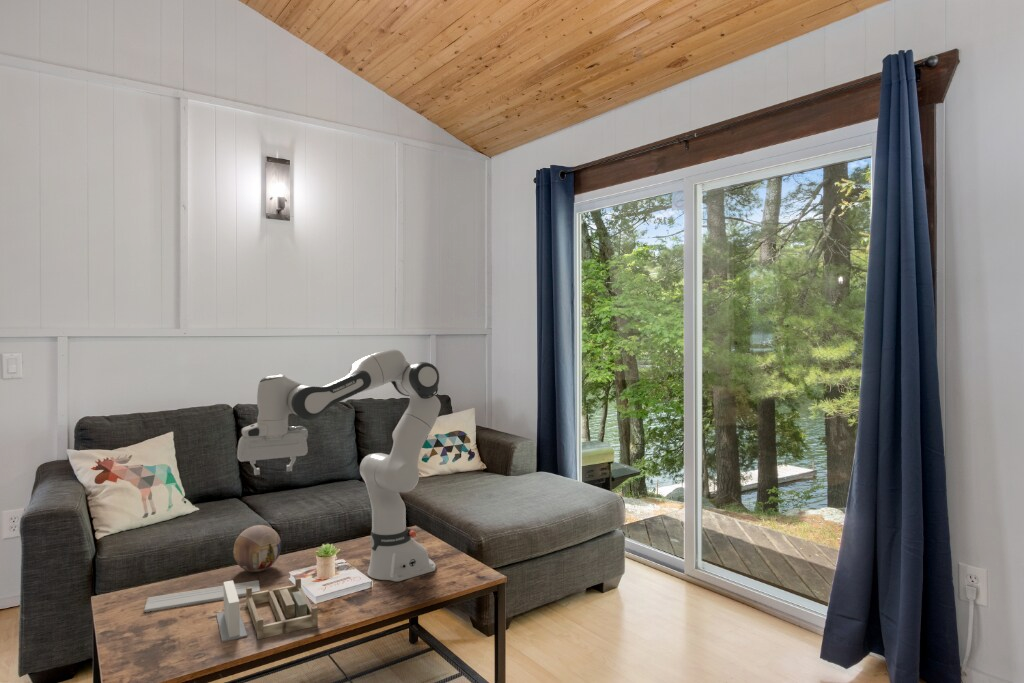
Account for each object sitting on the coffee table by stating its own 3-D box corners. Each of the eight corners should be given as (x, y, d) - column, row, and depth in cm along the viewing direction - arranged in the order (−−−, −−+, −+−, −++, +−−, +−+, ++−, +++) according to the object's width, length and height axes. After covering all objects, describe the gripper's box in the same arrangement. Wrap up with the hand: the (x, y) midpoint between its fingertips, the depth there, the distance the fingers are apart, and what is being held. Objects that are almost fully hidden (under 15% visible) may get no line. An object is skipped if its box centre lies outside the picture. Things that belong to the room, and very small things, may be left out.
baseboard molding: (148, 598, 193) (144, 615, 182) (148, 589, 192) (144, 605, 182) (258, 581, 205) (260, 595, 194) (258, 572, 205) (260, 586, 194)
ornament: (279, 576, 208) (278, 531, 207) (229, 581, 204) (229, 535, 204) (283, 560, 222) (283, 517, 222) (237, 564, 219) (237, 521, 218)
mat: (239, 610, 183) (239, 608, 183) (246, 636, 167) (246, 635, 167) (216, 614, 180) (216, 613, 180) (221, 642, 165) (221, 640, 165)
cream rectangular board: (233, 611, 182) (232, 580, 181) (239, 634, 168) (239, 601, 167) (223, 613, 180) (223, 581, 180) (229, 637, 166) (229, 603, 166)
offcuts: (296, 598, 191) (296, 583, 191) (307, 619, 177) (306, 603, 177) (279, 601, 189) (279, 586, 188) (289, 623, 175) (289, 607, 175)
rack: (300, 593, 195) (300, 577, 195) (317, 625, 173) (317, 607, 173) (246, 604, 187) (246, 587, 187) (257, 639, 166) (257, 620, 166)
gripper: (305, 424, 202) (306, 467, 202) (236, 429, 192) (236, 474, 192) (309, 426, 197) (310, 471, 197) (238, 432, 187) (239, 478, 187)
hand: (273, 472), depth 195 cm, fingers open, 8 cm apart
